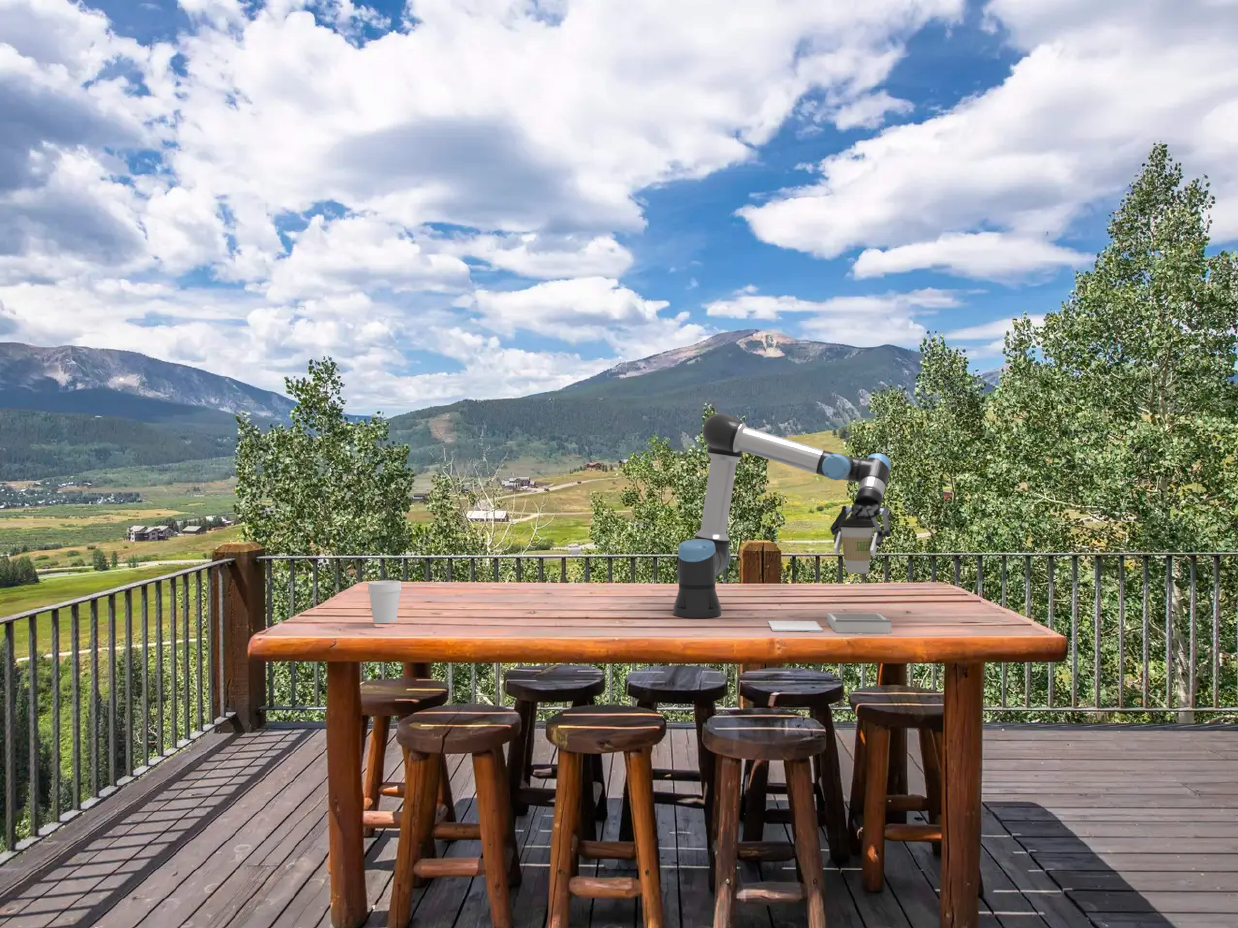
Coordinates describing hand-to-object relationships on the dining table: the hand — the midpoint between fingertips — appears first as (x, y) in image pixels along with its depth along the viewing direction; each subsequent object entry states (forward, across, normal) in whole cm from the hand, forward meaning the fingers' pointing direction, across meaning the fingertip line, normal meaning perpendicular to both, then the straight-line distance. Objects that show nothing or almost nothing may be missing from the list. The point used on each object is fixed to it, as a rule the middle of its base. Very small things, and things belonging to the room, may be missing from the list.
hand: (854, 552), depth 231 cm
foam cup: (+63, +121, +30) cm, 139 cm away
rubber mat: (+19, +16, -12) cm, 28 cm away
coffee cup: (+2, 0, -6) cm, 7 cm away
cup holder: (+13, 0, -18) cm, 22 cm away
